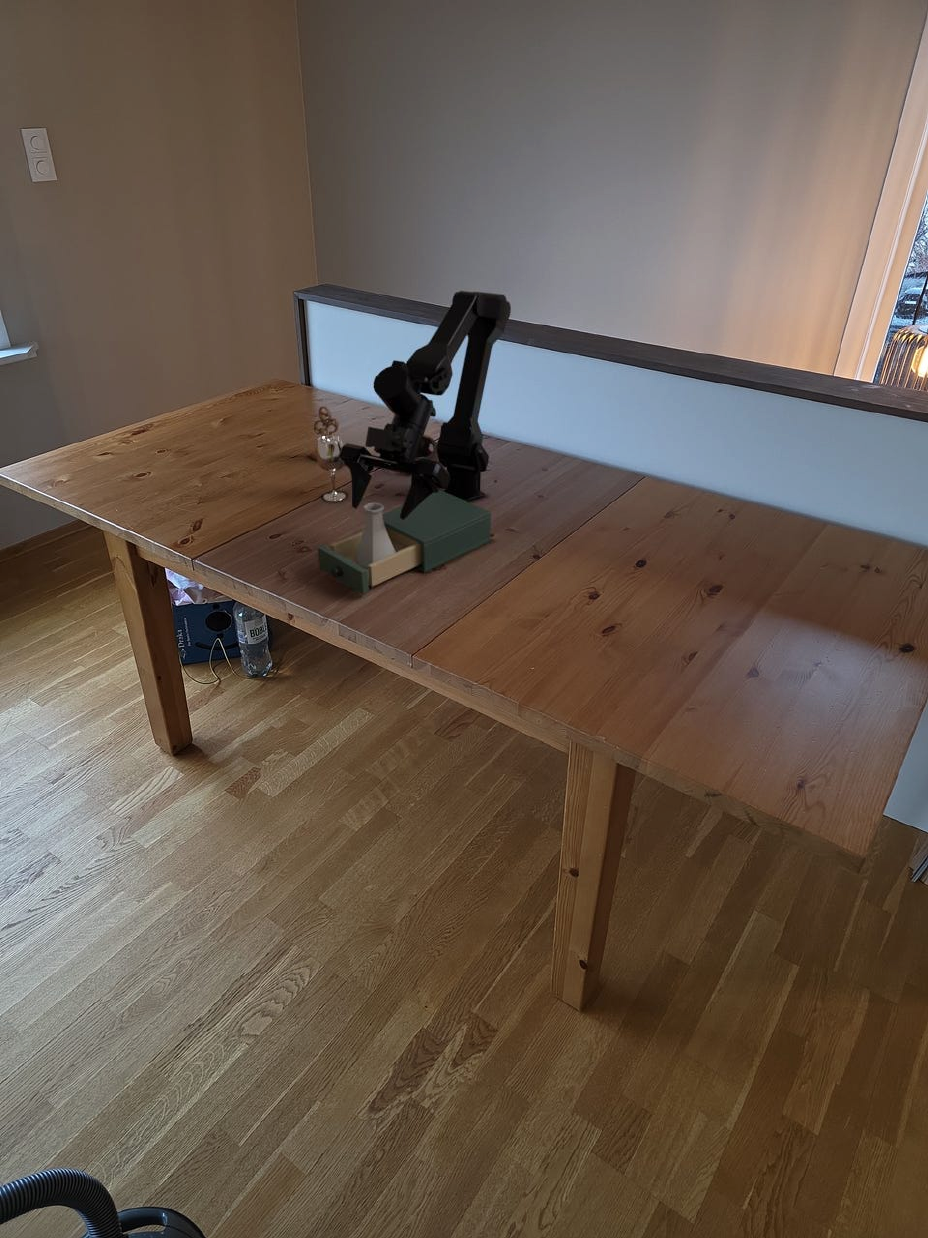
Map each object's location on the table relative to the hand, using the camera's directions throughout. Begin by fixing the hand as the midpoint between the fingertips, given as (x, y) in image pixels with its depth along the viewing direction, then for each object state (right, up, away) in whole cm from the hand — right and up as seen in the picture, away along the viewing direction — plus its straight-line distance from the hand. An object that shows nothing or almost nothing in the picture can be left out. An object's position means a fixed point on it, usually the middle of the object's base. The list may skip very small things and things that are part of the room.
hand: (377, 513), depth 133 cm
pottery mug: (+4, +16, +43) cm, 46 cm away
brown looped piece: (-16, +18, +45) cm, 51 cm away
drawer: (-1, -9, +4) cm, 10 cm away
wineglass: (-12, +7, +29) cm, 32 cm away
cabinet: (+9, -4, +13) cm, 16 cm away
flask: (-1, -8, +4) cm, 8 cm away
